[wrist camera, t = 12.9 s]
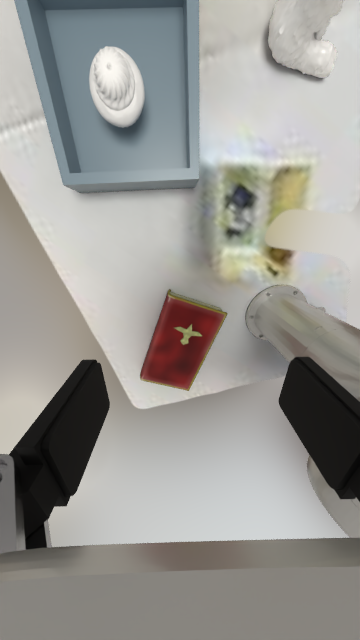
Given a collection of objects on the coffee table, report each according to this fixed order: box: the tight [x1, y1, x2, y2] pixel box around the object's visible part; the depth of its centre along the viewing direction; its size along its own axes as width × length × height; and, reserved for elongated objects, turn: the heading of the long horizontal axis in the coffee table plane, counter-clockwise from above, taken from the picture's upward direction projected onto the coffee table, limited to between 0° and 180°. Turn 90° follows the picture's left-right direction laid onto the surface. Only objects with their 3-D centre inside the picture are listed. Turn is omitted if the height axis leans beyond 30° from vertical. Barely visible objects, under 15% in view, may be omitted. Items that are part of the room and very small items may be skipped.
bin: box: [14, 0, 199, 193], centre depth 22 cm, size 18×18×5 cm
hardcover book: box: [140, 290, 227, 391], centre depth 39 cm, size 12×21×4 cm, turn 160°
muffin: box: [89, 46, 145, 128], centre depth 21 cm, size 6×6×7 cm
